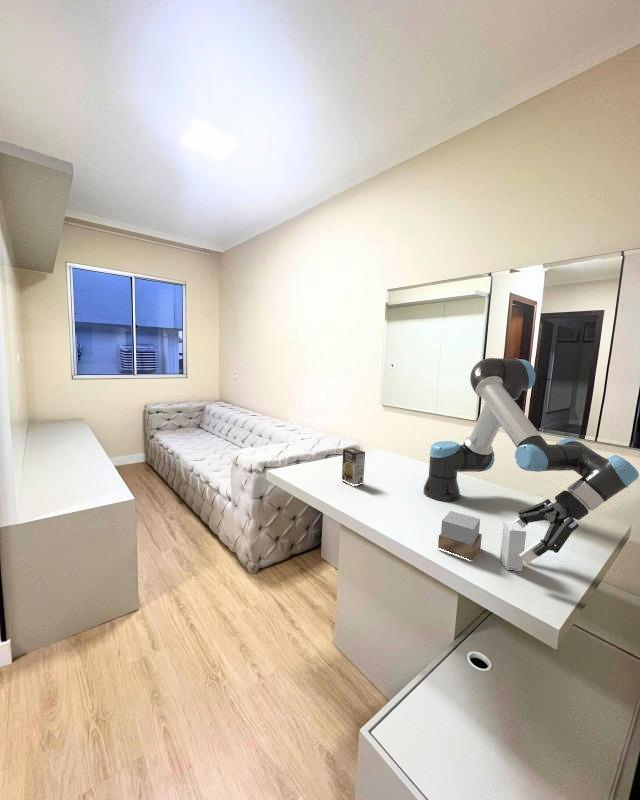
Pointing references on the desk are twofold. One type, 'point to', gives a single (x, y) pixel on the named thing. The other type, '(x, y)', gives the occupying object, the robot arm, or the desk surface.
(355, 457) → the coffee box
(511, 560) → the skincare box
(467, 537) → the tower top block
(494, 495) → the desk surface
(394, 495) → the desk surface
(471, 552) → the tower base block
